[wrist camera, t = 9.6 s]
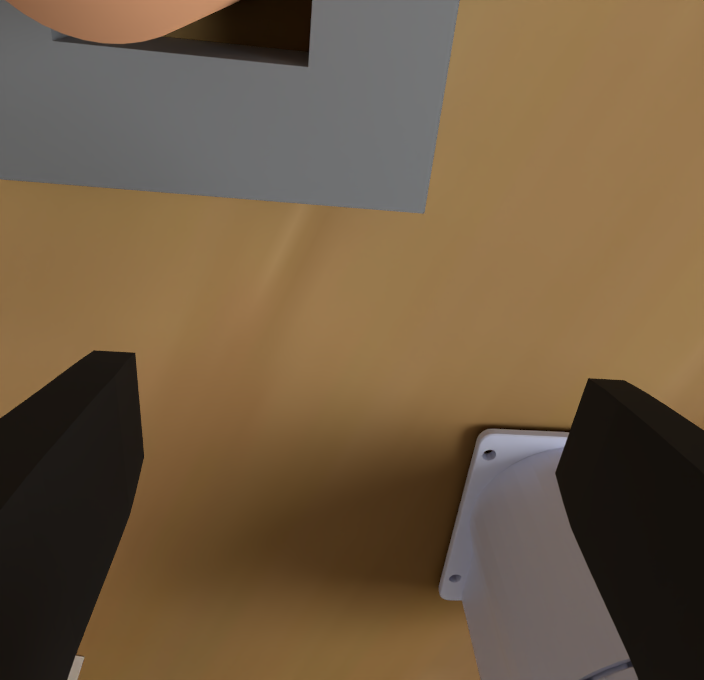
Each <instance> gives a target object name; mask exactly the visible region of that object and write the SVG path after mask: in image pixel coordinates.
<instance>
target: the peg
mask: <svg viewBox="0 0 704 680" xmlns="http://www.w3.org/2000/svg"><path fill="white" fill-rule="evenodd" d="M6 1H7V2H8V3H10V4H11V5H12V6H14V7H15V8H16V9H18V10H19V11H20V12H22V13H23V14H25V15H27V16H28V17H30V18H32V19H34V20H35V21H37V22H39V23H40V24H42V25H44V26H46V27H49V28H51V29H53V30H55V31H58V32H60V33H62V34H65V35H69V36H72V37H75V38H78V39H82V40H87V41H92V42H98V43H109V44H127V43H136V42H143V41H147V40H151V39H155V38H158V37H161V36H164V35H166V34H168V33H171V32H173V31H175V30H177V29H180V28H182V27H184V26H186V25H188V24H190V23H193V22H195V21H197V20H199V19H201V18H203V17H206V16H208V15H210V14H212V13H214V12H216V11H219V10H221V9H223V8H225V7H227V6H230V5H232V4H234V3H236V2H238V1H240V0H6Z"/></svg>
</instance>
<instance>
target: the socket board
mask: <svg viewBox="0 0 704 680" xmlns="http://www.w3.org/2000/svg"><path fill="white" fill-rule="evenodd" d="M459 1H460V0H312V12H311V28H310V44H309V52H305V51H295V50H286V49H276V48H267V47H257V46H248V45H238V44H229V43H219V42H209V41H200V40H190V39H181V38H171V37H162V36H161V37H158V38H155V39H151V40H147V41H143V42H136V43H127V44H109V43H98V42H92V41H87V40H82V39H78V38H75V37H72V36H69V35H65V34H62V33H60V32H58V31H55V30H53V29H51V28H49V27H46V26H44V25H42V24H40V23H39V22H37V21H35V20H34V19H32V18H30V17H28V16H27V15H25V14H23V13H22V12H20V11H19V10H18V9H16V8H15V7H14V6H12V5H11V4H10V3H8V2H7V1H6V0H0V179H4V180H17V181H29V182H41V183H54V184H66V185H79V186H91V187H103V188H116V189H128V190H140V191H153V192H165V193H177V194H190V195H202V196H214V197H227V198H239V199H251V200H264V201H276V202H289V203H301V204H313V205H326V206H338V207H350V208H363V209H375V210H387V211H400V212H412V213H424V212H425V206H426V200H427V194H428V188H429V182H430V175H431V169H432V163H433V157H434V151H435V145H436V139H437V133H438V127H439V121H440V115H441V109H442V103H443V97H444V91H445V85H446V79H447V73H448V67H449V61H450V55H451V49H452V43H453V37H454V31H455V25H456V19H457V13H458V7H459Z"/></svg>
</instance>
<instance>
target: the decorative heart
mask: <svg viewBox="0 0 704 680" xmlns="http://www.w3.org/2000/svg"><path fill="white" fill-rule="evenodd" d="M83 661H84V657H81V656H75V659H74V662H73V665H72V668H71V670H70V673H69V676H68V679H67V680H77V679H78V676H79V673H80V670H81V667H82V664H83Z"/></svg>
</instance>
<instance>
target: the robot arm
mask: <svg viewBox="0 0 704 680" xmlns="http://www.w3.org/2000/svg"><path fill="white" fill-rule="evenodd" d="M487 450H492V452H490V453H486V454H485V453H484V452H485V451H487ZM143 459H144V450H143V438H142V427H141V415H140V404H139V392H138V380H137V369H136V357H135V353H128V352H111V351H93V352H91V353H90V354H88V355H87V356H85V357H84V358H82V359H81V360H79V361H78V362H77V363H75V364H74V365H73V366H71V367H70V368H69V369H67V370H66V371H65V372H63V373H62V374H61V375H59V376H58V377H57V378H55V379H54V380H52V381H51V382H50V383H48V384H47V385H46V386H44V387H43V388H42V389H40V390H39V391H38V392H36V393H35V394H34V395H32V396H31V397H29V398H28V399H27V400H25V401H24V402H22V403H21V404H20V405H18V406H17V407H15V408H14V409H13V410H11V411H10V412H9V413H7V414H6V415H4V416H3V417H2V418H0V680H67V679H68V676H69V673H70V670H71V668H72V665H73V662H74V659H75V656H76V653H77V650H78V648H79V645H80V642H81V640H82V637H83V635H84V632H85V630H86V627H87V624H88V622H89V619H90V617H91V614H92V612H93V609H94V607H95V604H96V601H97V599H98V596H99V594H100V591H101V589H102V586H103V583H104V581H105V578H106V576H107V573H108V571H109V568H110V565H111V563H112V560H113V558H114V555H115V552H116V550H117V547H118V545H119V542H120V539H121V537H122V534H123V532H124V529H125V526H126V524H127V521H128V518H129V515H130V512H131V508H132V504H133V500H134V496H135V493H136V489H137V484H138V480H139V476H140V472H141V467H142V463H143ZM439 593H440V596H441V597H442V598H443V599H445V600H462V603H463V607H464V611H465V615H466V620H467V624H468V628H469V632H470V637H471V641H472V645H473V649H474V654H475V658H476V662H477V666H478V671H479V675H480V679H481V680H704V430H702V429H701V428H699V427H698V426H696V425H695V424H693V423H692V422H690V421H689V420H687V419H686V418H684V417H683V416H681V415H680V414H678V413H677V412H675V411H674V410H672V409H671V408H669V407H668V406H666V405H665V404H663V403H662V402H660V401H658V400H657V399H655V398H654V397H652V396H651V395H649V394H647V393H646V392H644V391H642V390H641V389H639V388H637V387H635V386H634V385H632V384H630V383H628V382H626V381H624V380H608V379H590V378H588V381H587V384H586V386H585V389H584V392H583V395H582V398H581V401H580V403H579V406H578V409H577V412H576V415H575V418H574V421H573V423H572V426H571V429H570V432H553V431H532V430H511V429H487V430H484V431H482V432H481V433H480V434H479V436H478V437H477V440H476V444H475V448H474V452H473V456H472V460H471V464H470V467H469V471H468V475H467V479H466V483H465V487H464V491H463V494H462V498H461V502H460V506H459V510H458V514H457V518H456V522H455V525H454V529H453V533H452V537H451V541H450V545H449V549H448V552H447V556H446V560H445V564H444V568H443V572H442V576H441V579H440V583H439Z"/></svg>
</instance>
